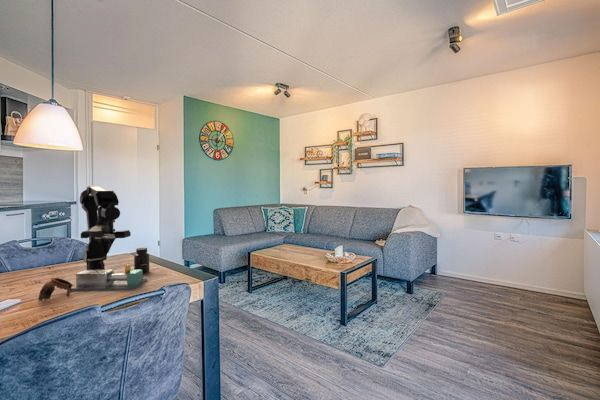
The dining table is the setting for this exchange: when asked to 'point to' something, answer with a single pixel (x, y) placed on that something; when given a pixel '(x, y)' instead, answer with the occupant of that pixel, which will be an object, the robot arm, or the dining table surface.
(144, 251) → the supplement bottle
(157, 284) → the dining table surface
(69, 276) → the dining table surface
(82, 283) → the tube rig
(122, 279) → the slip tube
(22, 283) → the dining table surface
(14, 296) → the dining table surface
